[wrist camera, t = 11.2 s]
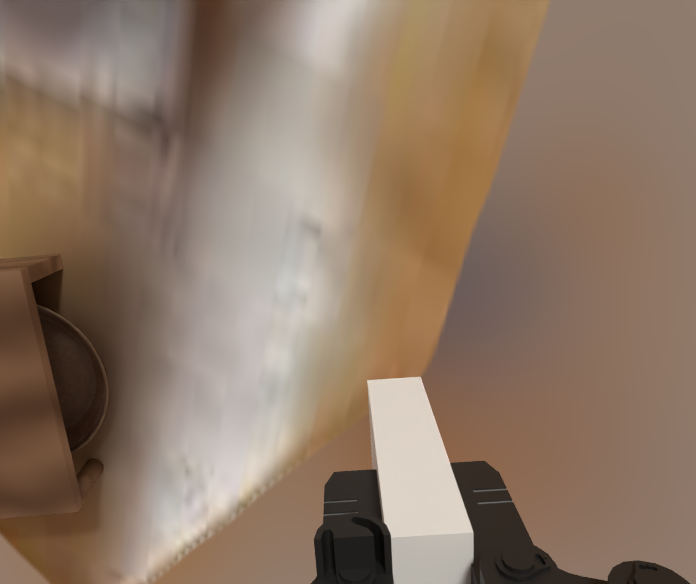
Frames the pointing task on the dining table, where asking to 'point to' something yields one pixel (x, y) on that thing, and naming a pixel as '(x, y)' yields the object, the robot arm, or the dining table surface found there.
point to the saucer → (75, 378)
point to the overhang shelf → (32, 405)
